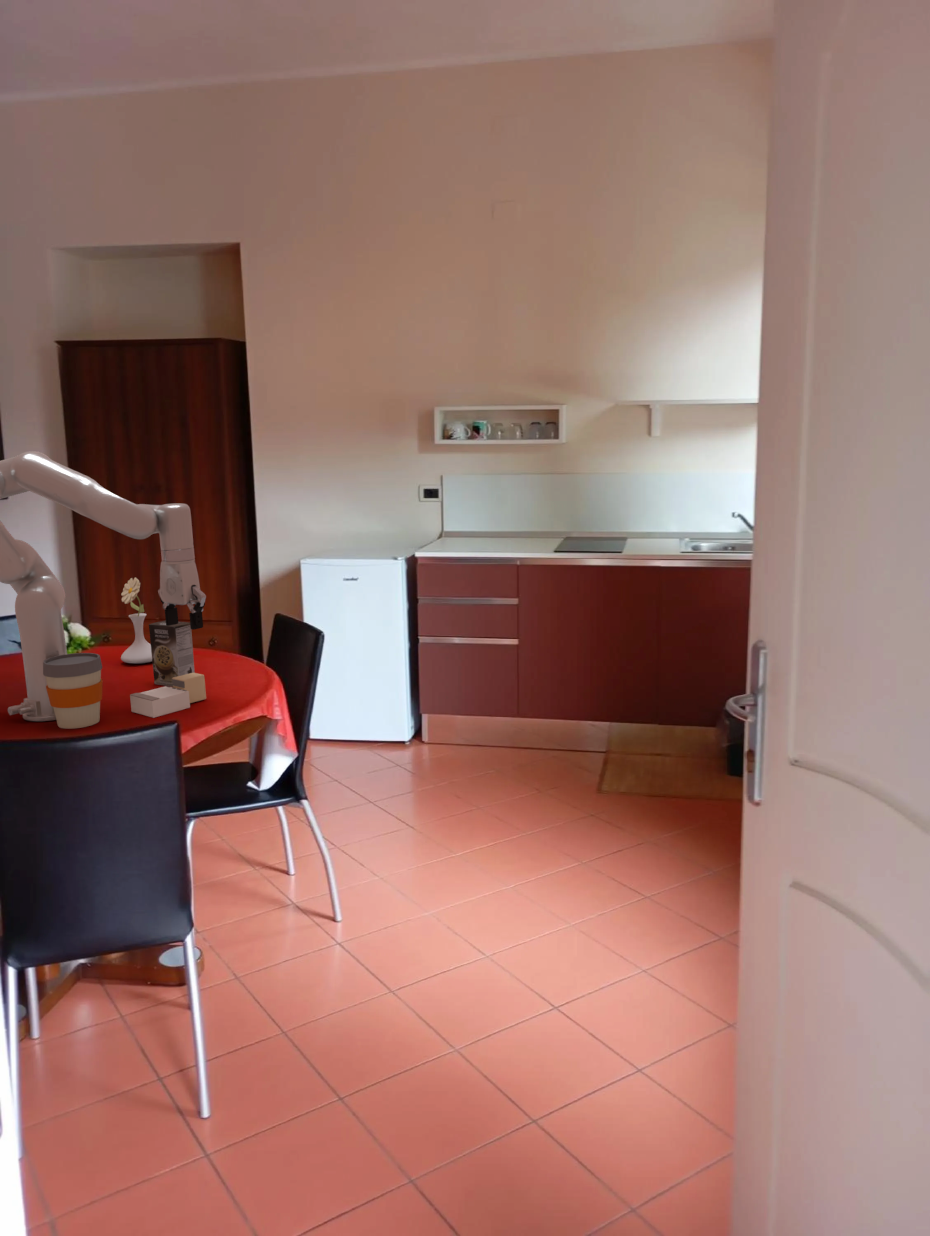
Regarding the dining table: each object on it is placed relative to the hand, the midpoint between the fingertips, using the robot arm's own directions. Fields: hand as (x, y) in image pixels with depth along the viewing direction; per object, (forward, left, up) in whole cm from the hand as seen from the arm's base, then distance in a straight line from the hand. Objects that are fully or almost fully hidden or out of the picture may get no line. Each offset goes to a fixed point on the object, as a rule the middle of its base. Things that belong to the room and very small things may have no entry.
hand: (184, 626), depth 238 cm
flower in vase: (+17, +48, -19) cm, 54 cm away
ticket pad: (-9, 0, -18) cm, 20 cm away
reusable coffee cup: (-26, +7, -19) cm, 33 cm away
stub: (-1, 0, -18) cm, 19 cm away
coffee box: (+8, +19, -19) cm, 28 cm away
